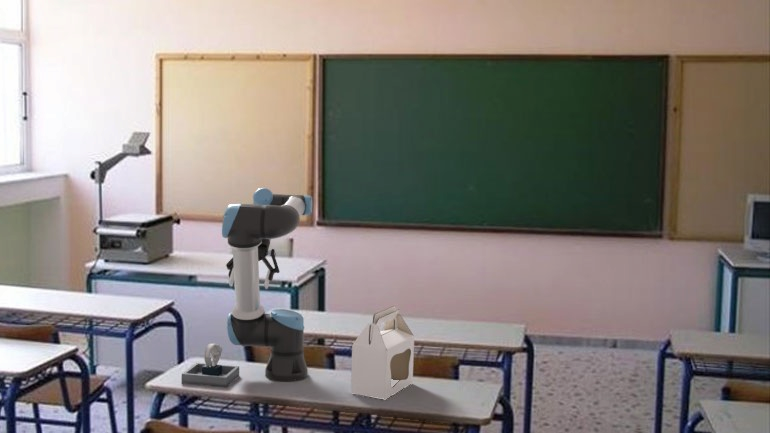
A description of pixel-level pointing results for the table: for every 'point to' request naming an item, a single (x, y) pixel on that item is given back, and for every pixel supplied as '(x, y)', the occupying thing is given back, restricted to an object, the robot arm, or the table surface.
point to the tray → (210, 376)
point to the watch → (212, 366)
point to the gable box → (382, 356)
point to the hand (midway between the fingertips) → (247, 285)
